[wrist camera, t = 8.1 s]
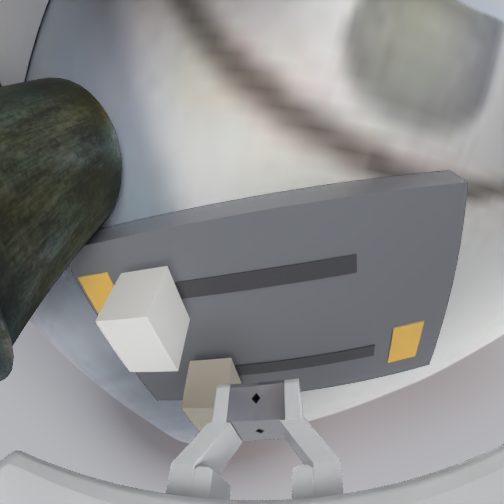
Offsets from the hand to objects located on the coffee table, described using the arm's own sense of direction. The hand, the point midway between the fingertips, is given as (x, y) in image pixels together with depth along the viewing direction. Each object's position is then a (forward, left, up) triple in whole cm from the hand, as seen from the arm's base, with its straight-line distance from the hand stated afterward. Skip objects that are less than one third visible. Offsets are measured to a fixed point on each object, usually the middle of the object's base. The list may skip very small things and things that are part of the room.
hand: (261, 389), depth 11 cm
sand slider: (+5, +8, -7) cm, 12 cm away
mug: (+11, -11, -10) cm, 18 cm away
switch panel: (0, +4, -9) cm, 10 cm away
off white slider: (+6, 0, -7) cm, 10 cm away
